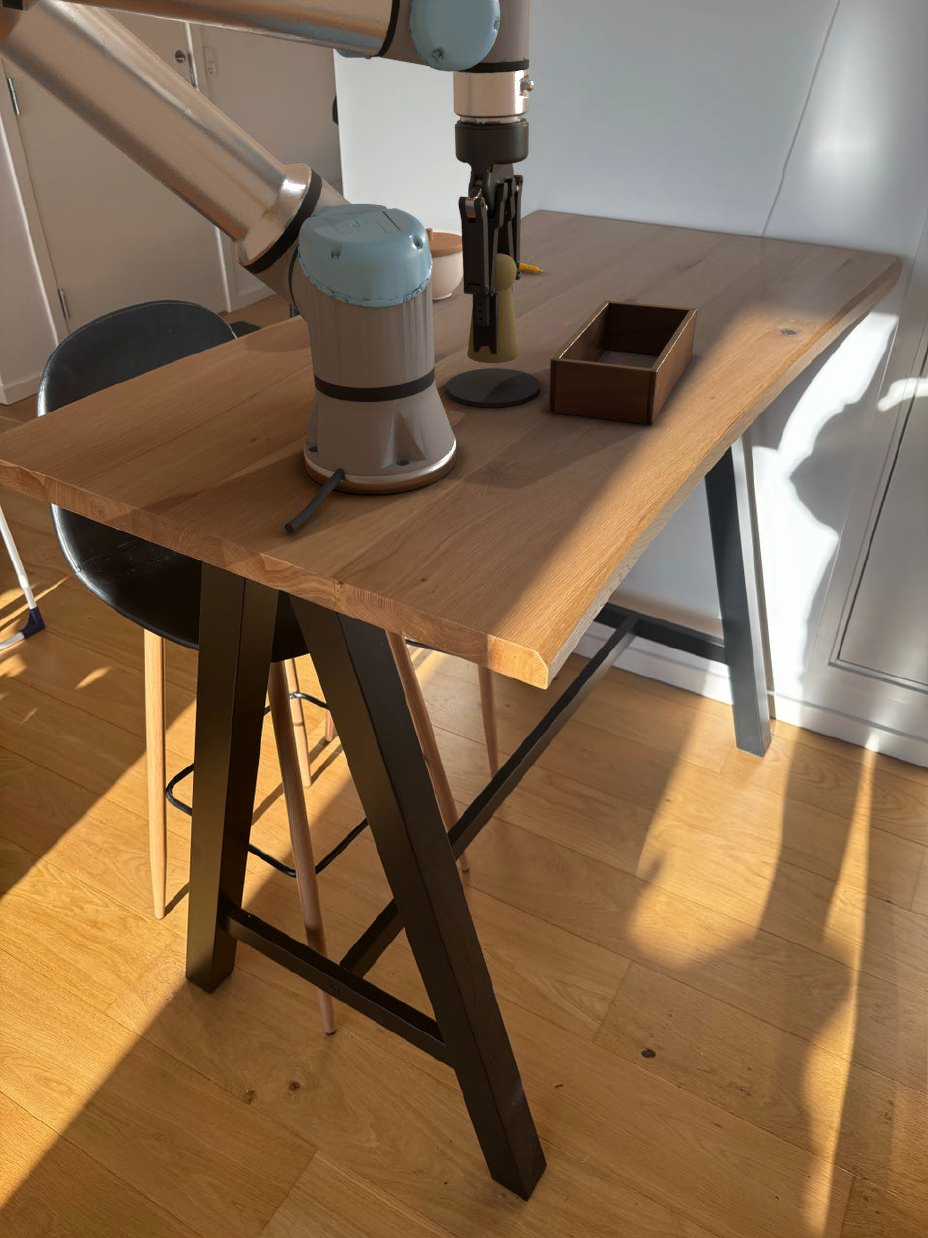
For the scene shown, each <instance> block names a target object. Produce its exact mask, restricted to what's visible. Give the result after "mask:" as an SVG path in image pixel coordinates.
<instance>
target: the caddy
mask: <svg viewBox="0 0 928 1238" xmlns="http://www.w3.org/2000/svg"><path fill="white" fill-rule="evenodd" d="M697 313H698V309H697V308H693V307H683V306H672V305H661V304H652V303H651V304H650V303H640V302H627V301H616V300H606V299H604V300H603V301H602V303H601V304H600V305H599V306H598V307H596V309H595V310H594V311H593V313H592V314H591V315H590V316H589V317H588V318H587V319H586V320H585V321H584V322H583V323H582V324H581V326H579V328H578V329H577V330H576V331H575V332H574V333H573V334H572V335H571V337H570V338H569V339H568V340H567V341H566V342H565V343H564V344H563V346H561V348H559V350H558V351H557V352H556V353H555V354H554V355H553V356H552V358H551V359H550V365H549V367H550V368H549V396H548V397H549V398H548V401H549V402H548V412H549V413H557V414H564V415H572V416H578V417H586V418H587V417H588V418H595V419H601V420H608V421H609V420H611V421H618V422H624V423H625V422H626V423H631V424H632V423H633V424H641V425H647V426H652V425H653V424H654V422H655V421H656V419H657V417H658V415H659V413H660V412H661V410H662V409H663V407H664V404H665V403H666V401H667V400H668V398H669V396H670V394H671V393H672V391H673V389H674V387H675V386H676V384H677V382H678V381H679V380H680V377H681V376H682V374H683V372H684V370H685V369H686V367H687V365H688V364H689V362H690V360H691V359H692V356H693V349H694V340H695V332H696V331H695V330H696V323H697V322H696V321H697ZM606 350H609V351H617V352H618V351H619V352H625V353H626V352H627V353H636V354H637V353H638V354H645V355H655V356H658V357H657V359H656V360H655V362H654V363H653V365H652V367H650V368H649V367H640V366H631V365H624V364H614V363H606V362H598V360H599V359H600V358H601V356H602V355H603V354H604V353H605V352H606Z"/></svg>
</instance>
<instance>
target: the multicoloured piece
mask: <svg viewBox="0 0 928 1238" xmlns="http://www.w3.org/2000/svg"><path fill="white" fill-rule="evenodd" d="M517 271H518V272H528V273H534V274H537V273H538V272H541V273H543V272H544V269H540V267H538V266H535V265H530V264H526V263H524V262H523V263H522V262H520V267H519V269H518V270H517Z"/></svg>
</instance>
